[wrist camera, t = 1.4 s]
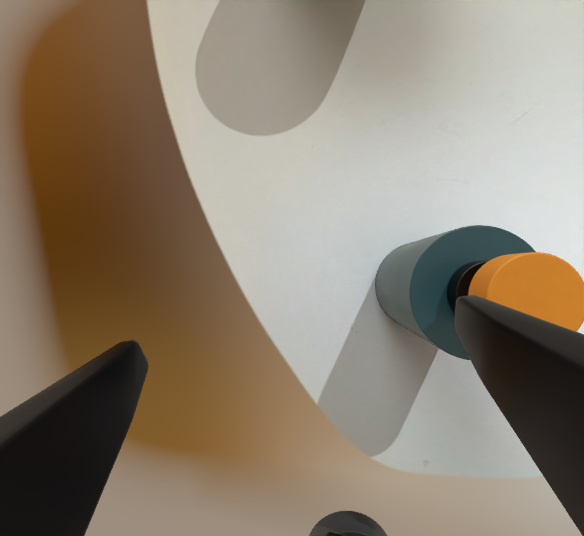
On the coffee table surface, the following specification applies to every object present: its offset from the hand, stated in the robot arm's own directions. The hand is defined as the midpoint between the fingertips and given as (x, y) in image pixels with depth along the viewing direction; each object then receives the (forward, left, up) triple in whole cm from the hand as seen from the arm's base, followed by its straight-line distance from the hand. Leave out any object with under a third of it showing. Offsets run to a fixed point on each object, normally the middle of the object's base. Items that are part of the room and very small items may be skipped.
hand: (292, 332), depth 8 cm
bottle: (+3, -9, -17) cm, 19 cm away
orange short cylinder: (+3, -9, -6) cm, 11 cm away
